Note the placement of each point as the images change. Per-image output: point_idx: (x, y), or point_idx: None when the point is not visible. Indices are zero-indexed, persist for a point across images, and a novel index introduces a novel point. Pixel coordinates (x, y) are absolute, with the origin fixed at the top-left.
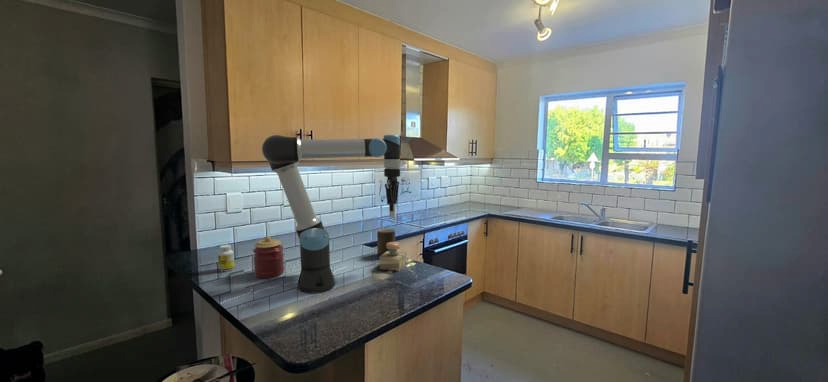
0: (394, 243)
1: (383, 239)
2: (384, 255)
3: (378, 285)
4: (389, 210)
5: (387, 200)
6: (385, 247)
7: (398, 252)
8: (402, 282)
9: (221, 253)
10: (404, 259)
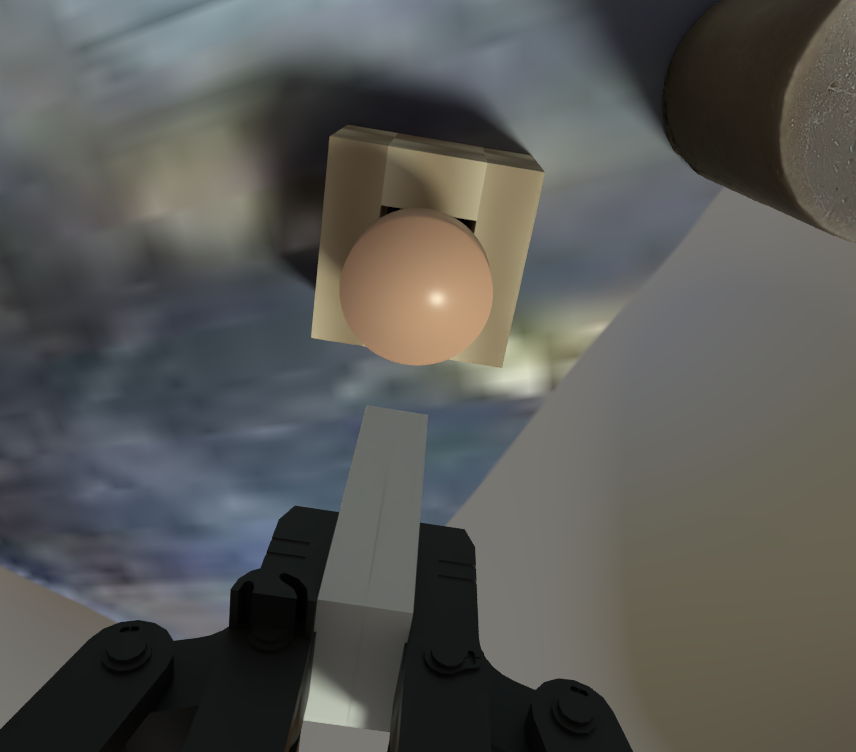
0: (425, 311)
1: (737, 91)
2: (380, 180)
3: (16, 208)
4: (345, 490)
5: (28, 718)
6: (698, 111)
7: (496, 298)
8: (128, 360)
9: None
10: None
